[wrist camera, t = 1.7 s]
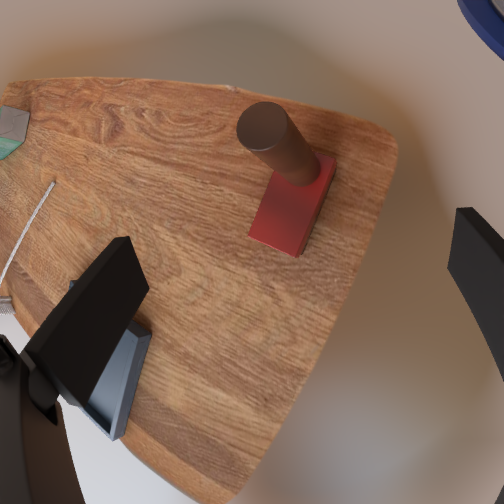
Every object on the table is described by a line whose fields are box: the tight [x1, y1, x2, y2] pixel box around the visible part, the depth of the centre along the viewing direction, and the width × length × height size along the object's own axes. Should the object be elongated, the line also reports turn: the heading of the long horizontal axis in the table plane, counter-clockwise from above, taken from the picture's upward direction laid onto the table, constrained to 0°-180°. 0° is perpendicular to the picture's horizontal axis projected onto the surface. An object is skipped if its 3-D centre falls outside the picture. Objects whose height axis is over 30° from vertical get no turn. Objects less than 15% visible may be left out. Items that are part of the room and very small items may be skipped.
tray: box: [68, 280, 152, 441], centre depth 36 cm, size 18×14×2 cm
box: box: [0, 105, 30, 160], centre depth 48 cm, size 7×14×8 cm, turn 93°
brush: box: [0, 181, 55, 315], centre depth 43 cm, size 4×28×9 cm, turn 137°
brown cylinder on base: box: [236, 102, 337, 258], centre depth 22 cm, size 8×4×12 cm, turn 156°
